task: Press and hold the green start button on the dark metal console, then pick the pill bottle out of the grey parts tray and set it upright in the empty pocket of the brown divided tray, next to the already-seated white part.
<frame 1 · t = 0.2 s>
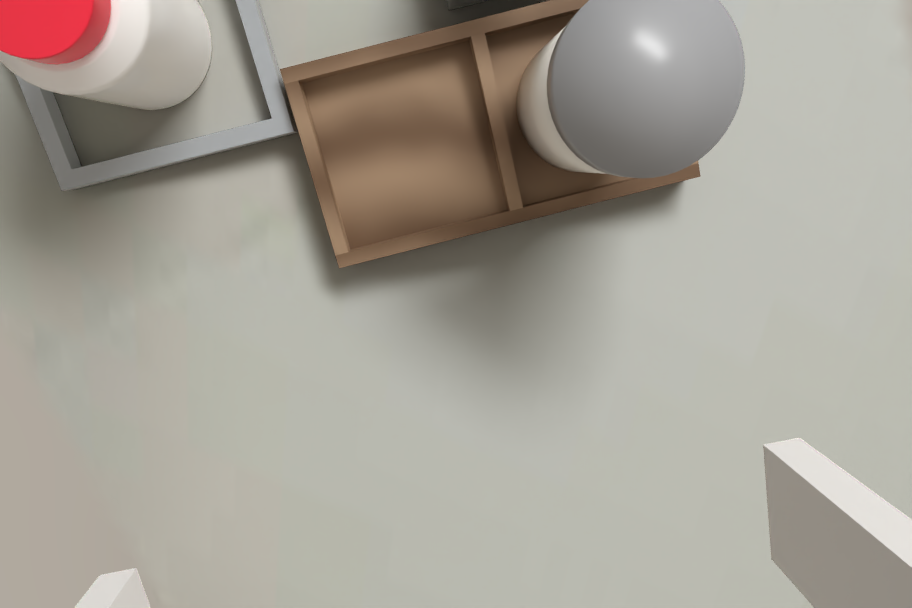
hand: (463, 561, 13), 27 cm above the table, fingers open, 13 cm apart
parts tray: (143, 39, 35), on the table
pill bottle: (145, 40, 35), resting in parts tray
seated part: (583, 103, 36), point 1 cm above the table, touching brown divided tray
brown divided tray: (493, 126, 37), on the table
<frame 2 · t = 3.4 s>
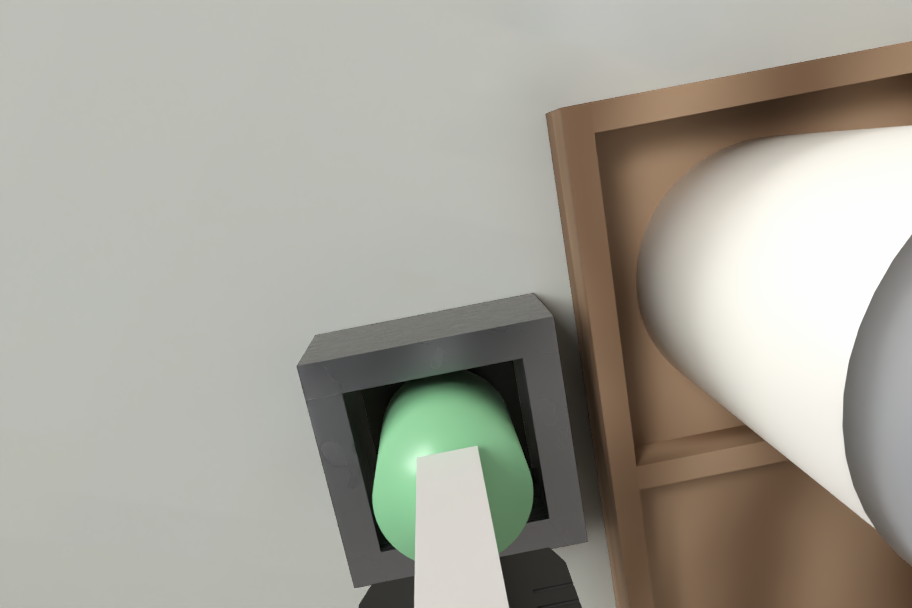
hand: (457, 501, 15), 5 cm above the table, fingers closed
console: (445, 415, 20), on the table
start button: (449, 459, 17), point 3 cm above the table, slide at 0.9 cm, touching gripper
seated part: (763, 270, 19), point 1 cm above the table, touching brown divided tray
brown divided tray: (761, 420, 21), on the table
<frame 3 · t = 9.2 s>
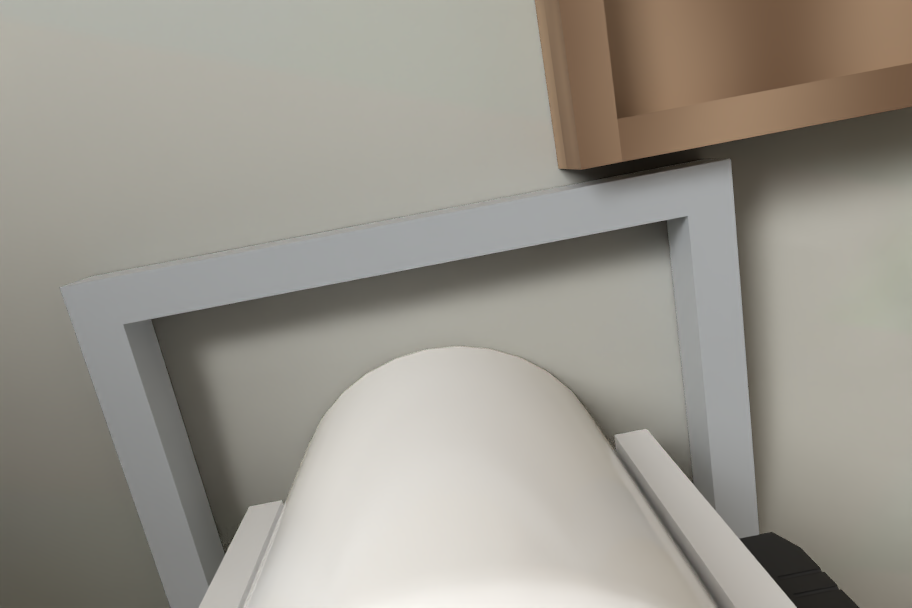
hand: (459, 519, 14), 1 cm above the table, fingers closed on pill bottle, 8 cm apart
parts tray: (456, 493, 15), on the table
pill bottle: (456, 488, 15), resting in parts tray, touching gripper
when the fingers open (3 cm above the table, at t = 15.6 s): pill bottle drops 1 cm, resting on brown divided tray.
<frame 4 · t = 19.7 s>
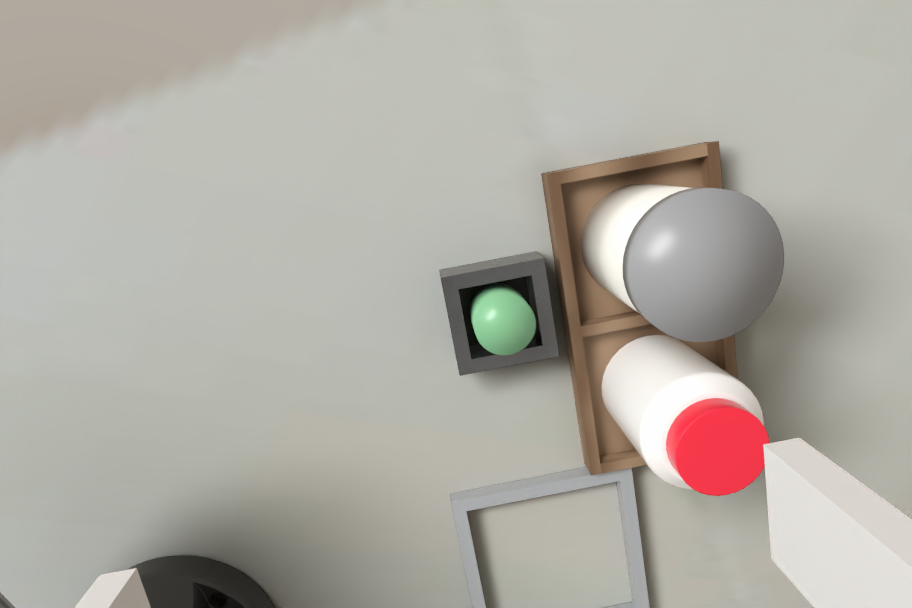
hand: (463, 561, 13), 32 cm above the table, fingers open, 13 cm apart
parts tray: (551, 553, 49), on the table
console: (495, 307, 44), on the table
pill bottle: (651, 383, 46), point 1 cm above the table, touching brown divided tray
start button: (501, 317, 41), point 3 cm above the table, slide at 1.0 cm
seated part: (636, 241, 43), point 1 cm above the table, touching brown divided tray
brown divided tray: (641, 311, 45), on the table
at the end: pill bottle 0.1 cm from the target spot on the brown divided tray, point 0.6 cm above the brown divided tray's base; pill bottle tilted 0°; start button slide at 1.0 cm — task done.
